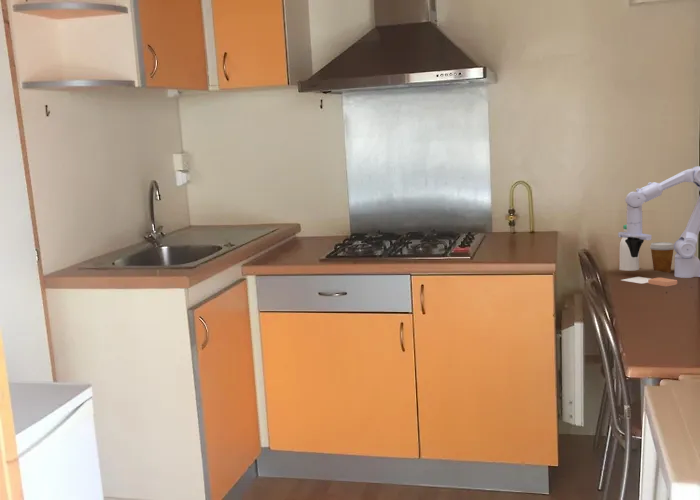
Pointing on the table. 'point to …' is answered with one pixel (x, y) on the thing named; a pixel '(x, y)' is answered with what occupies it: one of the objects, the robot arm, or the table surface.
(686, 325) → the table surface
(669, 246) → the disposable coffee cup
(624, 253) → the milk bottle
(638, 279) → the white riser
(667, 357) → the table surface
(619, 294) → the table surface
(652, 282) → the terracotta tile
